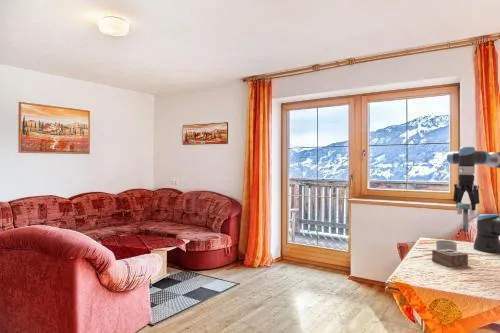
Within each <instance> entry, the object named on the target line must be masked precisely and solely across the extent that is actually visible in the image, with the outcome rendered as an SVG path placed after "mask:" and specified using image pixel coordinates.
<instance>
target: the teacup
mask: <svg viewBox="0 0 500 333" xmlns="http://www.w3.org/2000/svg"><path fill="white" fill-rule="evenodd" d="M435 243H436V244H435V246H436V250H441V249H451V250H455V251H458V248H457V244H458V243H457V242H456V241H454V240H446V239H442V240H441V239H437V240H436V241H435Z"/></svg>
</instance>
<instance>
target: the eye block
mask: <svg viewBox="0 0 500 333" xmlns="http://www.w3.org/2000/svg"><path fill="white" fill-rule="evenodd" d="M431 254H432V256H431V261H432V262H435V263H437V264H440V265H443V266H447V267H450V268H454V267H455V268H456V267H464V266H467V267H468V265H469V254H468V253H465V252H461V251H458V250H457V251H455V250H451V249H441V250H437V249H432V252H431Z"/></svg>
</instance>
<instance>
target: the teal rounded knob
mask: <svg viewBox="0 0 500 333" xmlns="http://www.w3.org/2000/svg"><path fill="white" fill-rule="evenodd" d="M470 204H471V203H463V202H460V203H459V207H458V208H460V209H462V232H465V233H468V231H469V210H470Z"/></svg>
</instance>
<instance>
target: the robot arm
mask: <svg viewBox="0 0 500 333" xmlns="http://www.w3.org/2000/svg"><path fill="white" fill-rule="evenodd" d="M446 160H447V163H448V164H453V165H458V181H459V182H458V183H455V184H453V186H454V188H453V189H454V190H453V191H454V192H453V198H452V199H453V201H454V202H455V203H456V209H457V210H456V211H457V212H456V213H457V215H463V209H460V208H458V207H459V203H462V199H463V197H464V195H465V192H466V193H467V195H468V198H469V202H470V203H469V204H470V209H469V211H468V217H475V211H476V208H477V207H476V206H477V205H478V204H480V193H479V188H480V186H479V185H476V184H474V183H475V169H476V168H475V165H477V166H488V167H490V168H496V169H500V151H498V152H493V151H492V152H488V151H486V150H485V151H484V150H476V149H475V147H474V146H461V147H460V148H459V150H458V151H454V150H453V151H449V153H448V154H447V155H446ZM473 249H474V250H477V251H480V252H485V253H492V252H500V214H498V213H482V214H481V213H480V214H478V215H477V219H476V238H475V240H474V243H473Z"/></svg>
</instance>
